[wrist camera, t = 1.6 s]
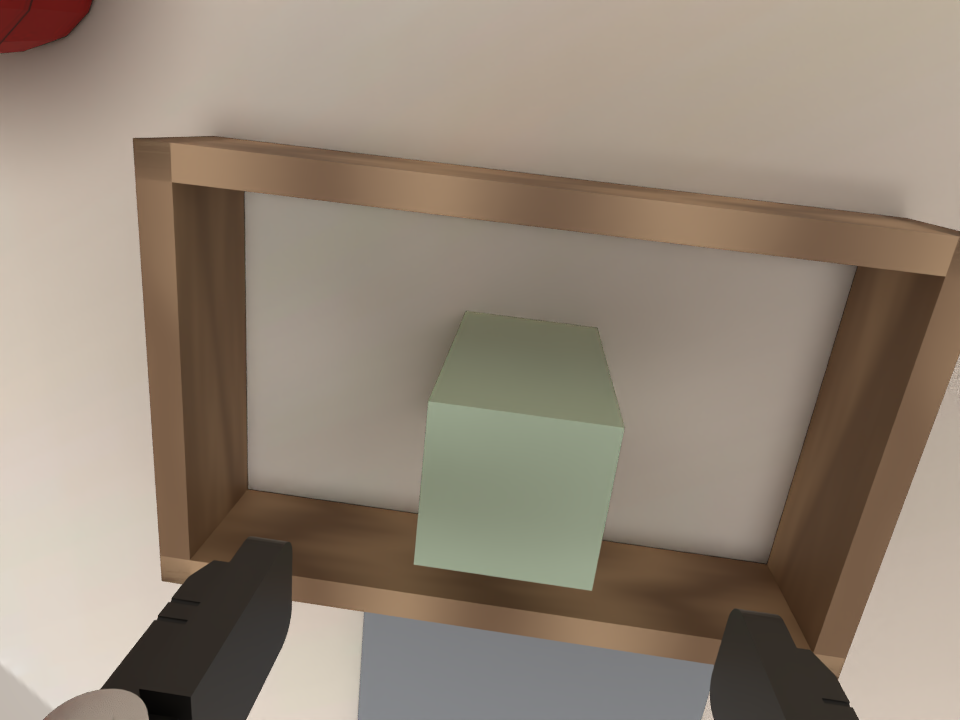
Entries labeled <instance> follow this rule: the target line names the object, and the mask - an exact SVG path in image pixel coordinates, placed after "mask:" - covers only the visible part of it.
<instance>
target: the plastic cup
mask: <svg viewBox="0 0 960 720" xmlns="http://www.w3.org/2000/svg"><path fill="white" fill-rule="evenodd" d="M91 3H92V0H0V53H9V52H21V51H26V50H28V49H31V48H34V47H37V46H40V45H43V44H46V43H49V42H51V41H54V40H57V39H60V38H62V37H65V36H67V35H68V34H69V33H70V32H71V31H72V29H73V28H74V27H75V26H76V25H77V24H78V23H79V22H80V21H81V20H82V19H83V17H84V16H85V15H86V14H87V13H88V12H89V9H90V6H91Z"/></svg>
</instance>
